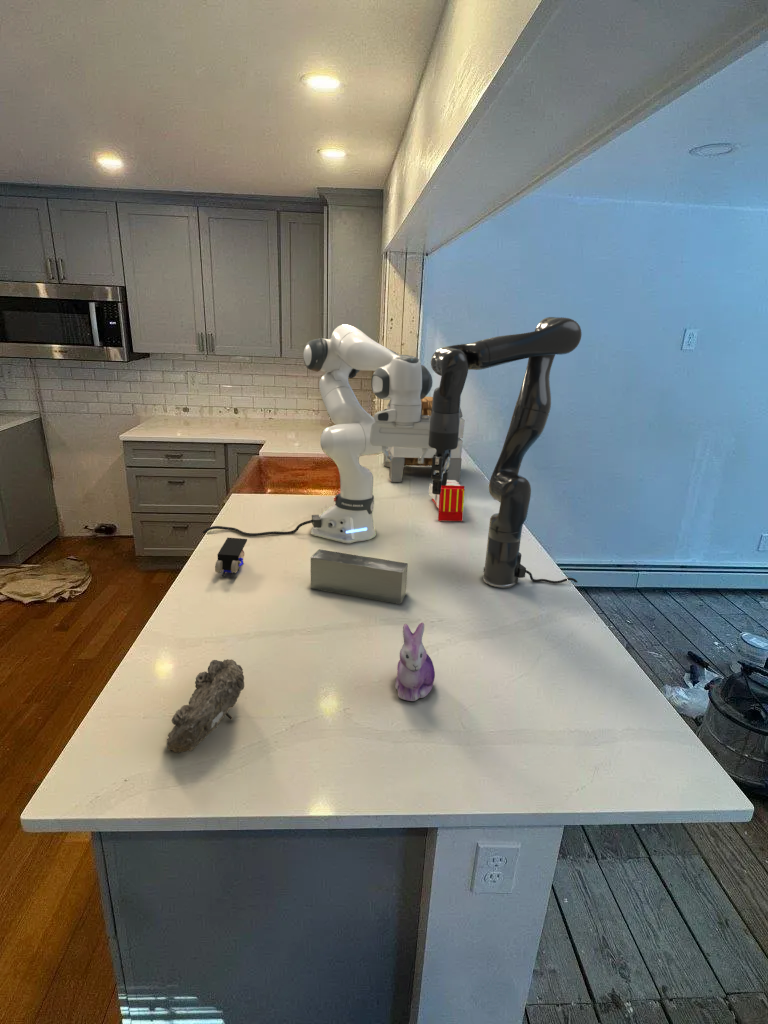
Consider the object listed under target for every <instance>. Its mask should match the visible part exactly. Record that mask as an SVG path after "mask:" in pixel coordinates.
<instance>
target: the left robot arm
mask: <svg viewBox="0 0 768 1024" xmlns="http://www.w3.org/2000/svg"><path fill="white" fill-rule="evenodd" d="M302 353H303V354H302V355H303V357H302V358H303V363H304V365H305V367H306V368H307V369H308V370H309V371H312V372H323V373H324V374H323V375H322V376H321V377H320V379H319V381H318V387H319V393H320V396H321V400H322V402H323V405H324V408H325V410H326V411H327V415H328V416H329V418H330V420H331V421H332V423H333V424H334V425H330V426H327V427H325V428H324V429H323V430H322V432H321V434H320V439H319V444H320V448H321V450H322V452H323V453H324V454H325V455H326V456H327V457H328V458H330V459H331V460H332V461H333V462H334V464H335V465H336V467H337V470H338V473H339V483H340V484H339V485H340V488H339V489H340V490H339V491H338V492H337V494H336V495H335V496H334V497H333V502H334V504H333V505H331V506H329V507H328V508H326V509H325V510H323V512H321V514H311V519H310V520H306V521H302V522H301V523H300V524H298V525H297V526H296V527H295V528H294V529H293V530H291V531H276V530H275V531H274V530H273V531H264V532H246V531H242V530H241V529H238V528H237V527H231V526H221V525H213V526H209V527H206V528H205V529H204V530H203V531H202V532H201V533H202V534H206V533H208V532H209V531H212V530H226V531H233V532H236V533H238V534H241V535H243V536H247V537H261V536H267V535H268V536H269V535H293V534H295V533H297V532H298V530H299V529H300V528H301V527H303V526H304V525H305V526H306V525H308V524H312V528H311V530H310V533H311V536H315V537H319V538H323V539H326V540H330V541H336V542H339V543H343V544H352V543H357V542H365V541H368V540H372V539H373V538H375V537H376V535H377V532H376V528H375V523H374V513H373V512H374V509H375V496H374V474H373V472H372V471H371V469H369V468H367V467H366V466H364V465H362V464H360V457H366V456H367V457H368V456H377V455H381V454H383V456H384V455H385V456H386V462H391V455H389V454H388V452H387V451H390V450H391V448H392V447H407V448H422V452H424V453H423V455H422V456H419V457H418V463H422V464H423V461H424V456H425V454H426V453H427V451H428V449H435V448H431V447H430V446H429V430H430V418H431V416H428V415H421V399H423V398H425V397H427V395H428V394H429V393H430V392H431V389H432V387H433V377H432V374H431V373H430V371H429V370H428V368H427V367H426V366H425V365H423V364H422V363H421V360H420V358H418V357H416V356H415V355H408V354H399V353H398V352H396V351H394V350H392V349H390V348H388V347H386V346H384V345H382V344H381V343H379V342H378V341H375V340H374V339H372V338H371V337H369V336H368V335H367V334H366V333H364V331H362V330H360V329H359V328H358V327H356V326H353V325H352V324H351V325H350V324H346V323H343V324H340V325H338V326H336V327H335V328H334V330H333V331H332V333H331V337H330V338H329V339H328V338H324V337H319V338H316V339H311V340H309V341H307V342H306V344H305V345H304V348H303V352H302ZM360 371H363V372H364V371H365V372H367V371H369V372H371V371H372V372H373V374H372V376H371V383H370V385H371V391H372V393H373V394H374V395H375V396H376V398H378V399H379V400H384V401H388V400H389V401H390V400H391V403H390V408H389V409H387V408H384V409H382V410H379V411H377V412H375V413H374V414H373V415H371V414H370V413H369V412H367V411H366V409H364V408H363V407H362V405H361V403H360V402H359V400H358V398H357V397H356V394H355V392H354V391H353V388H352V386H351V385H350V382H349V379H353V378H355V377H356V376H357V374H358V373H360Z"/></svg>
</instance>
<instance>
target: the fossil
mask: <svg viewBox="0 0 768 1024" xmlns="http://www.w3.org/2000/svg"><path fill="white" fill-rule="evenodd" d="M243 670H244V669H243V667H242V665H240V664H237V662H236V661H235V660H234V659H232V658H231V659H227V658H226V659H224V660H223V661H222V660H217V659H212V660H211V661H210V663H209V665H208V666H207V671H201V672H199V673H198V674H197V675H196V676H195V680H194V684H195V685H194V687H195V689H194V690H193V693H192V694H191V697H190V698H189V700H188V704H184V705H182V706H181V707H180V709H177V710H176V711H175V713H174V715H173V716H172V718H171V723H172V724H173V727H172V730H171V731H170V732H168V734H167V738H166V741H167V742H166V745H167V749H168V750H169V751H173V752H174V753H176V754H178V753H182V752H188V751H189V752H192V751H193V750H195V748H196V747H197V746H199V744H200V743H201V742H203V741H204V740H205V739H206V738H207V737H208V736H209V735H210V734H211V733H212V732H214V730H215V729H217V727H218V726H219V724H220V722H221V721H222V720H223V719H224V718H225V716H226V717H227V719H229V720H233V717H232V715H230V714H229V710H230V709H231V708H234V706H235V704H236V703H237V702H238V699H239V697H240V695H241V693H242V691H243V690H245V689H244V688H245V675H244V671H243Z"/></svg>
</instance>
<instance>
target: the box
mask: <svg viewBox="0 0 768 1024" xmlns="http://www.w3.org/2000/svg"><path fill="white" fill-rule="evenodd" d="M408 565H409V563H407V562H401V561H395V560H390V559H383V558H378V557H377V558H376V557H372V556H371V557H370V556H365V555H357V554H352V553H346V552H339V551H332V550H326V549H321V548H320V549H317V550H316V551H315V552H314V553H313V554H312V555H311V557H310V589H312V590H318V591H324V592H329V593H334V594H339V595H340V594H341V595H345V596H352V597H356V598H362V599H368V600H374V601H379V602H386V603H391V604H396V605H402V603H403V600H404V599H405V597H406V595H407V583H408V582H407V581H408V567H409V566H408Z"/></svg>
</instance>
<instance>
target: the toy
mask: <svg viewBox="0 0 768 1024" xmlns="http://www.w3.org/2000/svg"><path fill="white" fill-rule="evenodd" d="M428 486H429V487H428V494H429V496H430V497H431V501H432V502H433V504H434V505H435V506H436V507H437V508H438V514H437V515H438V517H437V521H439V522H442V521H443V522H463V517H464V508H465V507H464V505H465V485H461V484H460V482H459V483H458V482H457V481H456V480H447V484H446V485H445V486H443V485H442V486H441V493H440V494H439V495H438V494H433V493H432V486H433V483H431V482H430V483H429V485H428Z"/></svg>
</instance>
